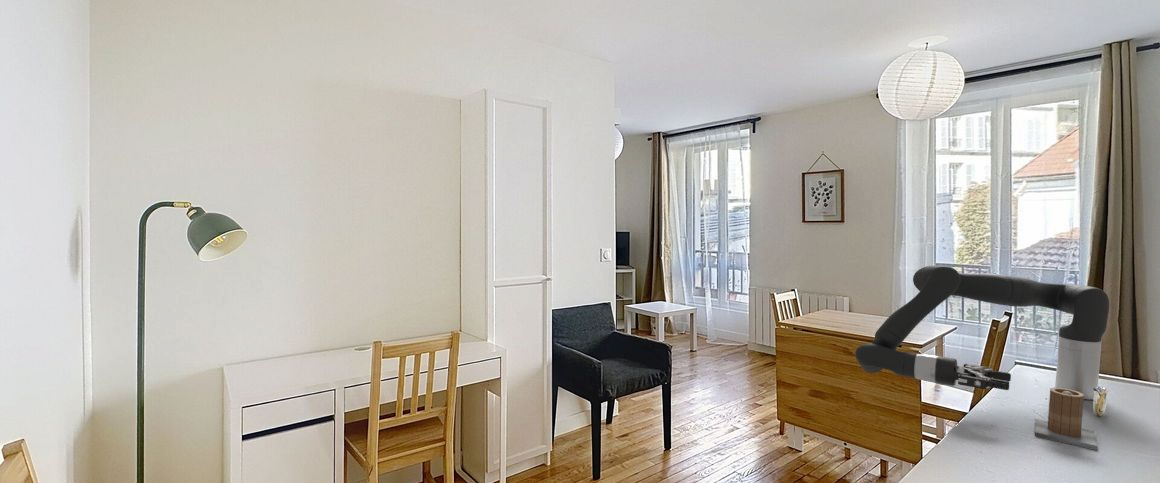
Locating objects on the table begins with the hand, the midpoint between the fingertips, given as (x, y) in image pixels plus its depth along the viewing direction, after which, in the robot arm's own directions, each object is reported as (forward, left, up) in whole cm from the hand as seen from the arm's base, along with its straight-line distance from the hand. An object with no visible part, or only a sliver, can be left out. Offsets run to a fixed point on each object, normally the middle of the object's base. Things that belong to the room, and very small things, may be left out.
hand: (1010, 381), depth 135 cm
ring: (-23, +18, -11) cm, 31 cm away
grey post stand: (+1, +11, -11) cm, 15 cm away
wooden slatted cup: (+1, +11, -10) cm, 15 cm away
